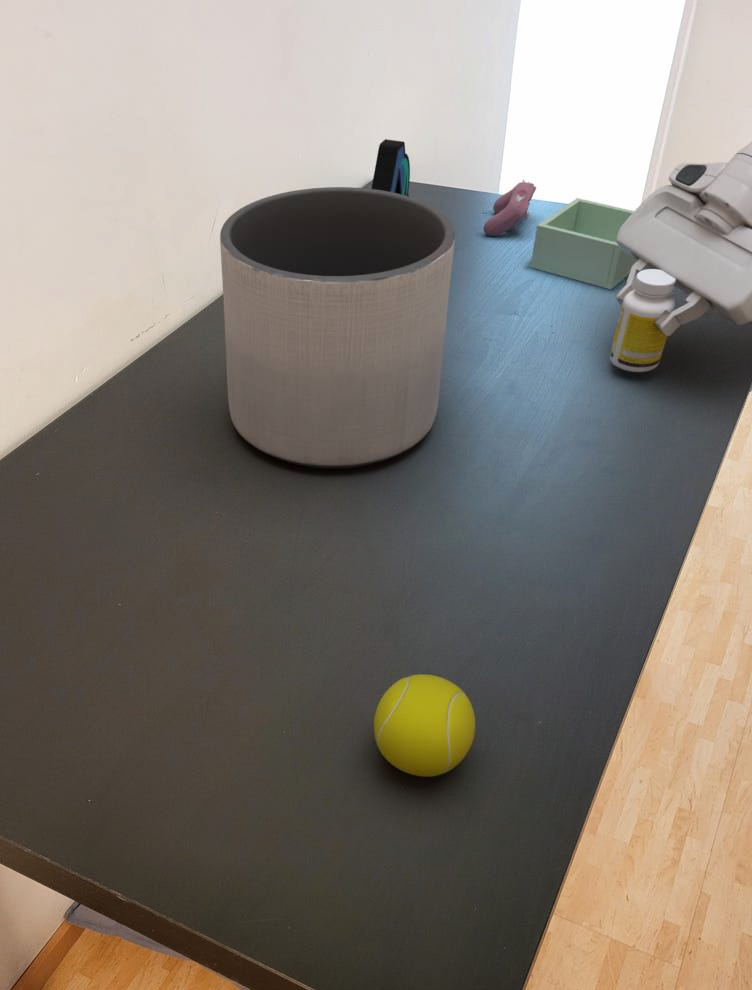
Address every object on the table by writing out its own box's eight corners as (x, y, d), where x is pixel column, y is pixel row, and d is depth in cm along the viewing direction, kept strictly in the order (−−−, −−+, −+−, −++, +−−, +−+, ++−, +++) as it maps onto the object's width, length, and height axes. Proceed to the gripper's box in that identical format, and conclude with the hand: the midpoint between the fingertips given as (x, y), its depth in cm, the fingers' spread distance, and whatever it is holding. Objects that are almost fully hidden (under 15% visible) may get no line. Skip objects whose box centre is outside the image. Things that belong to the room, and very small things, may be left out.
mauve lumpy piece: (506, 250, 134) (536, 207, 128) (479, 232, 133) (508, 188, 128) (516, 224, 140) (545, 182, 135) (491, 207, 140) (519, 164, 134)
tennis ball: (358, 776, 67) (362, 713, 62) (389, 708, 72) (396, 643, 67) (453, 808, 65) (465, 745, 60) (479, 735, 69) (492, 671, 64)
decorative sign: (368, 289, 122) (375, 167, 112) (351, 286, 123) (355, 164, 113) (416, 235, 134) (426, 120, 124) (400, 232, 135) (408, 118, 125)
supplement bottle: (668, 368, 104) (693, 283, 97) (625, 377, 103) (647, 291, 96) (641, 346, 108) (664, 262, 101) (599, 354, 107) (619, 270, 100)
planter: (254, 359, 110) (247, 179, 96) (443, 374, 106) (465, 190, 92) (207, 466, 95) (190, 272, 81) (426, 488, 91) (448, 289, 77)
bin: (647, 258, 127) (658, 216, 123) (611, 289, 121) (621, 246, 117) (568, 238, 132) (577, 197, 128) (529, 267, 126) (537, 225, 122)
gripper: (827, 264, 92) (715, 375, 97) (691, 194, 105) (599, 294, 110) (807, 226, 88) (691, 344, 92) (668, 158, 101) (573, 264, 106)
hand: (640, 317), depth 101 cm, fingers closed on supplement bottle, 5 cm apart
